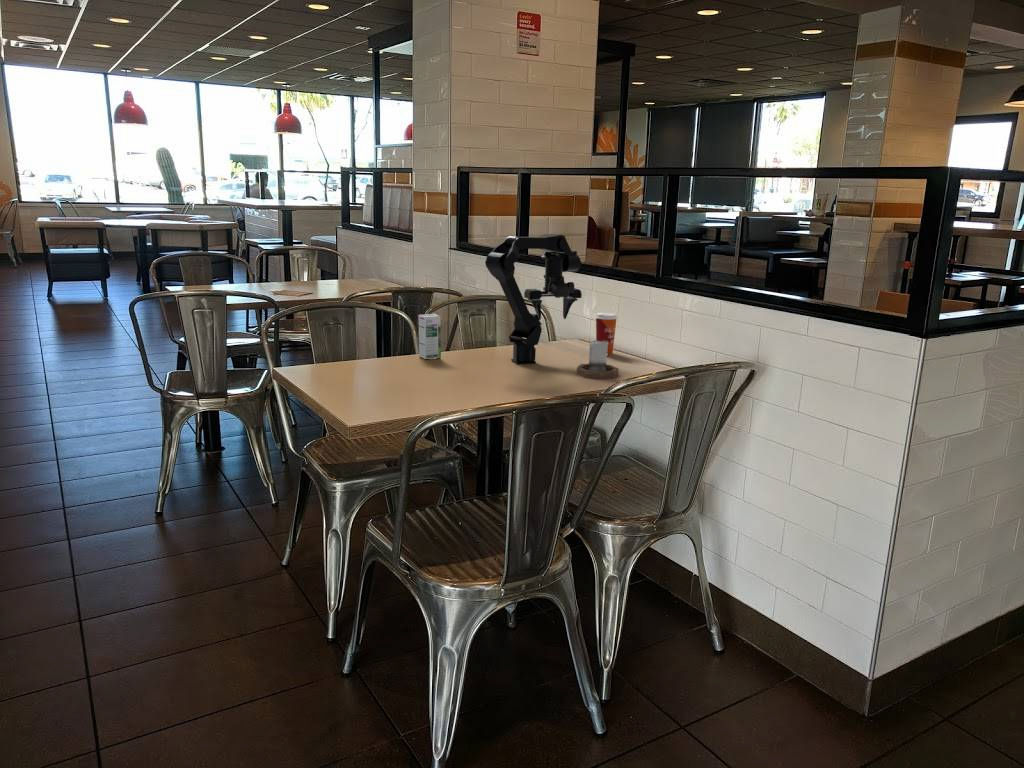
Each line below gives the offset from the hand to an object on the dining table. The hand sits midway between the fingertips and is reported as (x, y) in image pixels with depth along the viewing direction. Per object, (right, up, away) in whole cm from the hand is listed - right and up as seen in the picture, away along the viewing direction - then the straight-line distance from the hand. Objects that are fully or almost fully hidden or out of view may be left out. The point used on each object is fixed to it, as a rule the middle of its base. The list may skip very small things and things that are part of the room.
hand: (552, 319), depth 257 cm
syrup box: (-41, -13, -3) cm, 43 cm away
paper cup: (+19, -11, +11) cm, 25 cm away
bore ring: (+13, -19, -20) cm, 30 cm away
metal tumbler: (+13, -19, -20) cm, 30 cm away
